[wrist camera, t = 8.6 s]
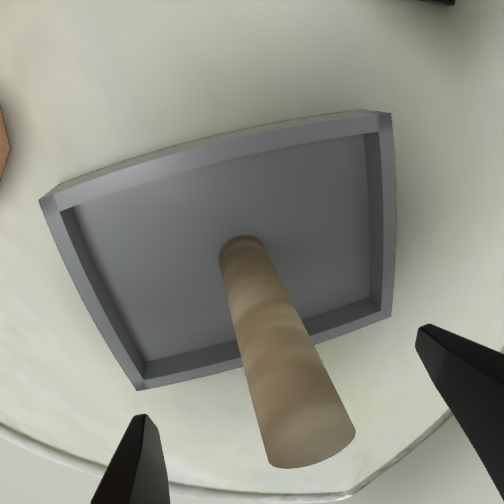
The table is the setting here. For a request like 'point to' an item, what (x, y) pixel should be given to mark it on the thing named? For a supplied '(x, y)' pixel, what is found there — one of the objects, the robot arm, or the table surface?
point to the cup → (3, 145)
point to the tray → (231, 237)
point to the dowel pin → (281, 362)
